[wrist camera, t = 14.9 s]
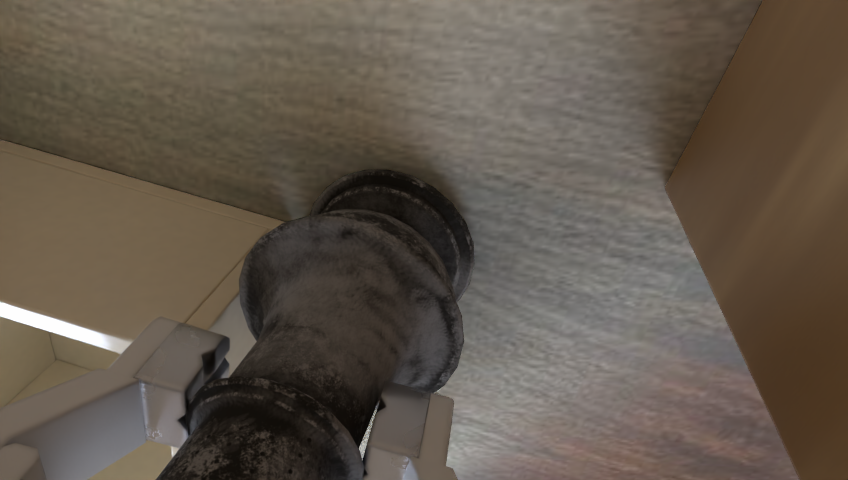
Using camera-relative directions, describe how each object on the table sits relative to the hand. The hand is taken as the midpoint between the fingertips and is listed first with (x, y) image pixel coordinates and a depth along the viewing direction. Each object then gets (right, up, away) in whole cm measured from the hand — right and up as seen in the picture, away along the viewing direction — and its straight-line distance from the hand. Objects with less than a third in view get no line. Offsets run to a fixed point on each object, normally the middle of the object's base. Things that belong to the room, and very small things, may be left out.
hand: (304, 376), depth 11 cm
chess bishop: (+2, +3, +5) cm, 6 cm away
